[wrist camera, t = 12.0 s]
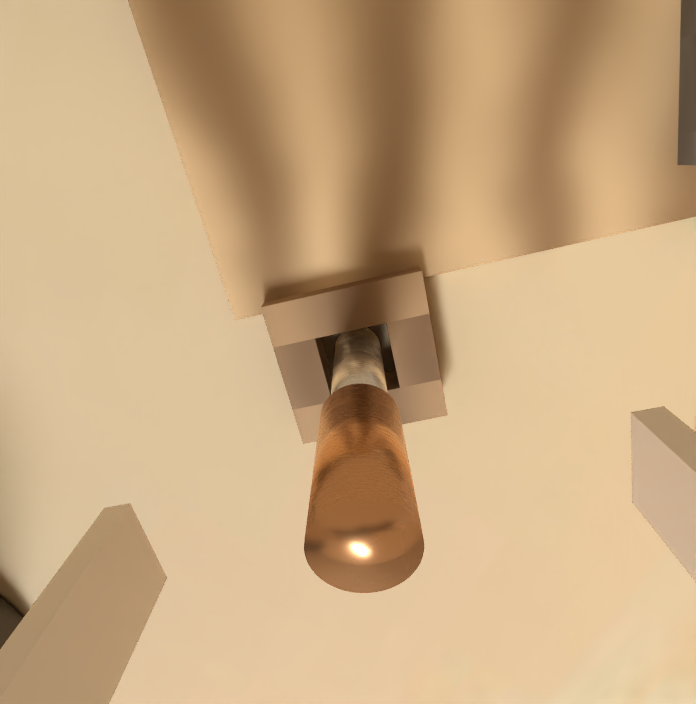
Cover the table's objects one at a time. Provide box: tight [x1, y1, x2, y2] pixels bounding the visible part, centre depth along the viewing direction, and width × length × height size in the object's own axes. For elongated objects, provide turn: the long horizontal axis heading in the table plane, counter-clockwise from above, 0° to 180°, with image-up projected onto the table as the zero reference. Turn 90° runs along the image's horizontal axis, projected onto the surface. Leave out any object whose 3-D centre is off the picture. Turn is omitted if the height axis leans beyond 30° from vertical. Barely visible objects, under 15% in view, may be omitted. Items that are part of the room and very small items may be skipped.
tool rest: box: [261, 267, 447, 444], centre depth 22 cm, size 7×7×2 cm
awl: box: [304, 328, 424, 593], centre depth 17 cm, size 3×3×13 cm
